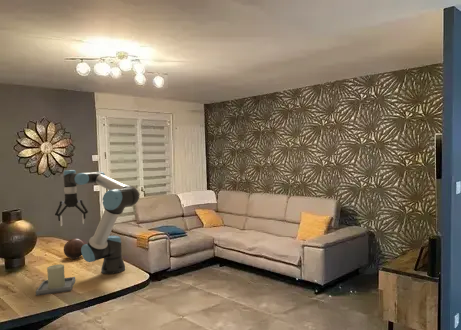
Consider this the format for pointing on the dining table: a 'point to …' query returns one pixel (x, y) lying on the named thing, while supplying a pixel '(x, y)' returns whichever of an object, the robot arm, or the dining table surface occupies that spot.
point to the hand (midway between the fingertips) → (72, 224)
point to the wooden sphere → (73, 248)
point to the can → (56, 276)
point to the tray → (44, 288)
